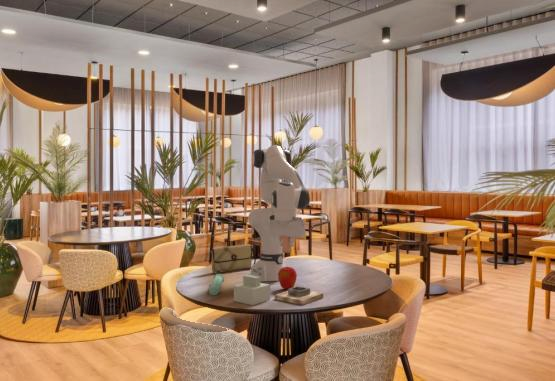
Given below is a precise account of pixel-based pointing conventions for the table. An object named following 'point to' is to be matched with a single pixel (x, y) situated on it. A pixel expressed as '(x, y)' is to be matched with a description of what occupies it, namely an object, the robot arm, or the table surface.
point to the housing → (251, 291)
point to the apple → (287, 277)
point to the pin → (286, 244)
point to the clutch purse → (232, 258)
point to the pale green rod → (216, 284)
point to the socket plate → (299, 295)
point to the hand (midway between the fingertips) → (286, 246)
